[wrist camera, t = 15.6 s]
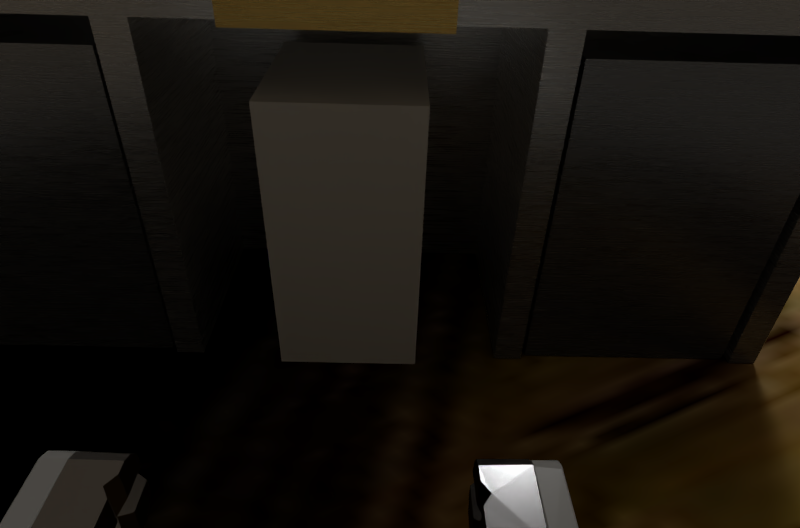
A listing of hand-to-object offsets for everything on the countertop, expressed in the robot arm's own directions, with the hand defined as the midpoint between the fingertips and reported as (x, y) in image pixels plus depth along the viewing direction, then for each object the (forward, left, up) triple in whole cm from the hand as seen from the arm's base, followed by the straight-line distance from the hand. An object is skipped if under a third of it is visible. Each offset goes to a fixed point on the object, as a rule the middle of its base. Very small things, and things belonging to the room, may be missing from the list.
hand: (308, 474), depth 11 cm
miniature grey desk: (0, +14, -6) cm, 15 cm away
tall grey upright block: (0, +12, -6) cm, 14 cm away
